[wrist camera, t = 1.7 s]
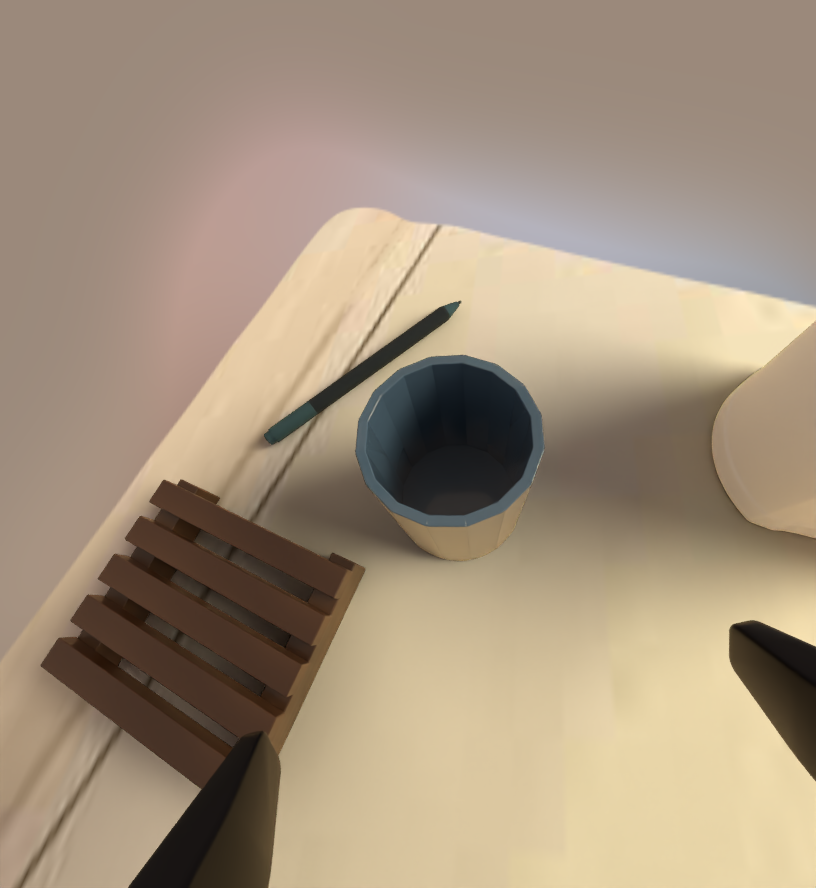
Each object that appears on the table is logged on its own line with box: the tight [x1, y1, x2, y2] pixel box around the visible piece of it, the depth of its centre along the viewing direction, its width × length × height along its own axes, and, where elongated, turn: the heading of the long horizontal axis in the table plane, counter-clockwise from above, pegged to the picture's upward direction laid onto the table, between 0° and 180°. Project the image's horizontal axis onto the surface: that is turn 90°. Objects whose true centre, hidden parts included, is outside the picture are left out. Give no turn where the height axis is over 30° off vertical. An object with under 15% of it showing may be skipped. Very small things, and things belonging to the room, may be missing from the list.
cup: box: [355, 355, 545, 561], centre depth 19 cm, size 7×7×9 cm
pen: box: [264, 301, 461, 445], centre depth 27 cm, size 1×16×1 cm, turn 127°
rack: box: [41, 480, 365, 789], centre depth 21 cm, size 11×12×3 cm
